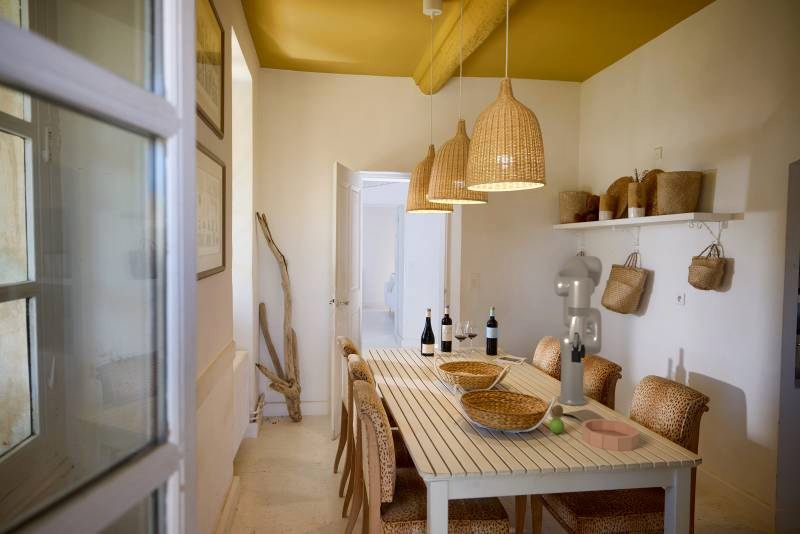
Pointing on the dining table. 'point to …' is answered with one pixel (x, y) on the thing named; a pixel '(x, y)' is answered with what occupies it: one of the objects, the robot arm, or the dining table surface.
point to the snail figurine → (556, 419)
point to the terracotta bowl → (610, 434)
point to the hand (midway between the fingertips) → (578, 359)
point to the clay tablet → (585, 415)
